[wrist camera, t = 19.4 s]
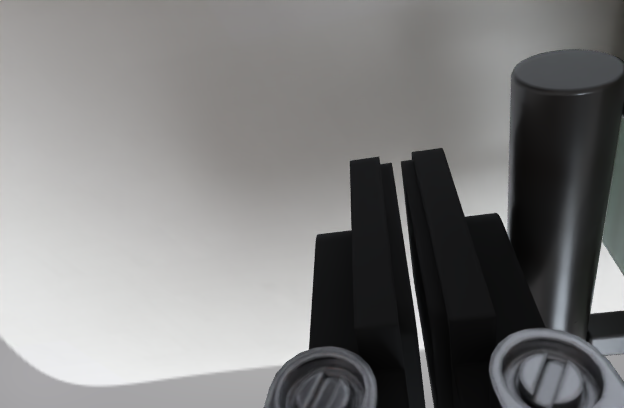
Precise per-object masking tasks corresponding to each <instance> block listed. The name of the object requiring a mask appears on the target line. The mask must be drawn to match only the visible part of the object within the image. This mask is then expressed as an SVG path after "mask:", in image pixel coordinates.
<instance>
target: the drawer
mask: <svg viewBox="0 0 624 408" xmlns="http://www.w3.org/2000/svg"><path fill="white" fill-rule="evenodd" d="M621 116H622V120H621ZM620 123H621V126H620ZM619 129H620V132H619ZM618 135H619V138H618ZM617 142H618V145H617ZM616 148H617V151H616ZM615 154H616V157H615ZM614 160H615V163H614ZM613 167H614V170H613ZM612 173H613V176H612ZM611 179H612V182H611ZM610 186H611V189H610ZM609 192H610V195H609ZM608 198H609V201H608ZM607 204H608V207H607ZM606 211H607V214H606ZM605 217H606V220H605ZM604 223H605V226H604ZM603 230H604V232H603ZM507 235H508V237H509V240H510V242H511V244H512V247H513V249H514V252H515V254H516V257H517V259H518V261H519V264H520V266H521V269H522V271H523V274H524V276H525V279H526V281H527V283H528V286H529V288H530V291H531V293H532V296H533V298H534V300H535V303H536V305H537V308H538V310H539V313H540V315H541V317H542V320H543V322H544V325H545V327H546V328H549V329H556V330H562V331H565V332H568V333H570V334H573V335H576V336H578V337H581V338H582V339H584V340H585V341H587V342H588V343H590V344H592V345H593V346H595V347H596V348H597V349H598V350H599V351H600V352H601V353H602V354H603V355H604V356H608V355H620V354H624V311H615V312H604V313H594V314H590V311H591V305H592V299H593V292H594V286H595V280H596V274H597V267H598V261H599V255H600V248H601V242H603V244H604V245H605V247H606V248H607V250H608V252H609V253H610V255H611V256H612V258H613V259H614V261H615V263H616V264H617V266H618V267H619V269H620V271H621V272H622V274H623V275H624V61H623V60H621V59H620V58H618V57H616V56H614V55H611V54H608V53H604V52H599V51H593V50H580V49H570V50H558V51H551V52H546V53H541V54H538V55H534V56H532V57H529V58H527V59H525V60H523V61H521V62H520V63H519V64H517V65H516V66H515V68H514V70H513V72H512V74H511V98H510V140H509V183H508V225H507ZM602 236H603V239H602Z"/></svg>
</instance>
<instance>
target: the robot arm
mask: <svg viewBox="0 0 624 408" xmlns="http://www.w3.org/2000/svg"><path fill="white" fill-rule="evenodd" d="M401 167H402V176H403V186H404V195H405V204H406V214H407V223H408V232H409V242H410V251H411V260H412V270H413V278H414V285H415V291H416V297H417V304H418V310H419V316H420V322H421V328H422V335H423V341H424V347H425V353H426V359H427V366H428V372H429V377H430V384H431V390H432V397H433V403H434V408H624V381H623V380H622V378H621V377H620V375H619V374H618V373H617V371H616V370H615V368H614V367H613V366H612V364H611V363H610V361H609V360H608V359H607V358H606V357H605V356H604V355H603V354H602V353H601V352H600V351H599V350H598V349H597V348H596V347H595V346H593V345H592V344H590V343H588V342H587V341H585V340H584V339H582V338H581V337H578V336H576V335H573V334H570V333H568V332H565V331H562V330H556V329H549V328H546V327H545V325H544V322H543V320H542V317H541V315H540V313H539V310H538V308H537V305H536V303H535V300H534V298H533V296H532V293H531V291H530V288H529V286H528V283H527V281H526V279H525V276H524V274H523V271H522V269H521V266H520V264H519V261H518V259H517V257H516V254H515V252H514V249H513V247H512V244H511V242H510V240H509V237H508V235H507V232H506V230H505V227H504V225H503V223H502V220H501V218H500V216H499V215H498V214H497V213H492V214H484V215H476V216H467V217H465V216H464V213H463V210H462V207H461V204H460V201H459V197H458V194H457V191H456V188H455V185H454V182H453V179H452V176H451V172H450V169H449V166H448V163H447V160H446V157H445V154H444V151H443V148H438V149H430V150H423V151H416V152H412V160H408V161H401ZM350 188H351V226H352V230H350V231H342V232H334V233H325V234H318V235H317V237H316V245H315V261H314V277H313V293H312V310H311V326H310V342H309V350H307V351H304V352H301V353H299V354H298V355H296V356H295V357H293V358H292V359H290V360H289V361H287V362H286V363H285V364H284V365H283V367H282V368H281V369H280V370H279V371H278V372H277V373H276V375H275V377H274V379H273V382H272V384H271V386H270V388H269V391H268V395H267V398H266V402H265V405H264V408H425V400H424V390H423V382H422V372H421V363H420V354H419V345H418V336H417V328H416V320H415V313H414V306H413V299H412V292H411V286H410V279H409V273H408V266H407V260H406V253H405V246H404V240H403V233H402V227H401V220H400V214H399V207H398V200H397V194H396V187H395V181H394V174H393V167H392V163H386V164H380V159H379V157H373V158H366V159H359V160H352V161H350Z"/></svg>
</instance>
